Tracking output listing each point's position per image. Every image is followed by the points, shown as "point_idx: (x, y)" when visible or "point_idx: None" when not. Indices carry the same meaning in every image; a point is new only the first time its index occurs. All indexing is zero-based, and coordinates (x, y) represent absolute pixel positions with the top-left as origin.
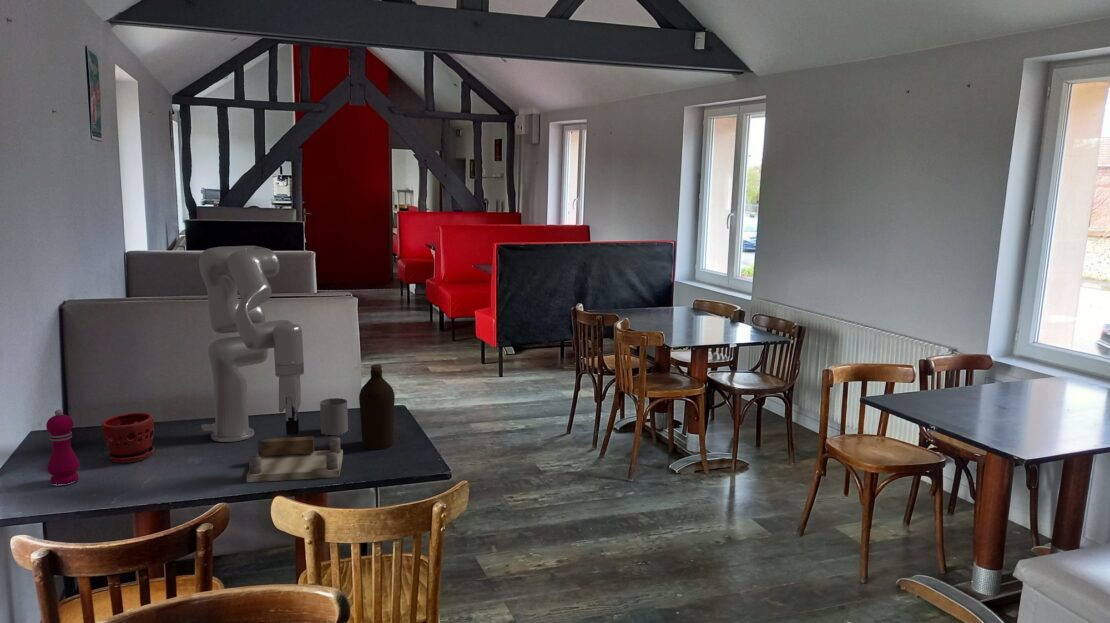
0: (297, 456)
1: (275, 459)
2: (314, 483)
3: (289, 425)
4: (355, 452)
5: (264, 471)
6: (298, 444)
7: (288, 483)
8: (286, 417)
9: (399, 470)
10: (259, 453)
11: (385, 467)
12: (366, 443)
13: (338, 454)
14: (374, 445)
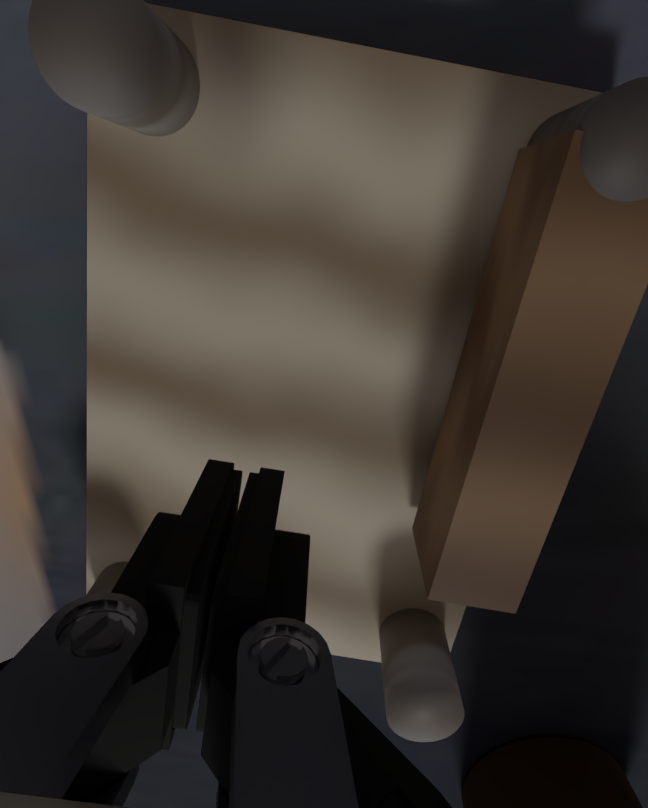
0: (422, 423)
1: (418, 263)
2: (29, 464)
3: (126, 576)
4: (467, 694)
5: (154, 162)
6: (450, 476)
7: (51, 324)
8: (7, 671)
9: (141, 797)
10: (549, 120)
11: (195, 763)
12: (511, 772)
13: (361, 643)
14: (474, 790)
